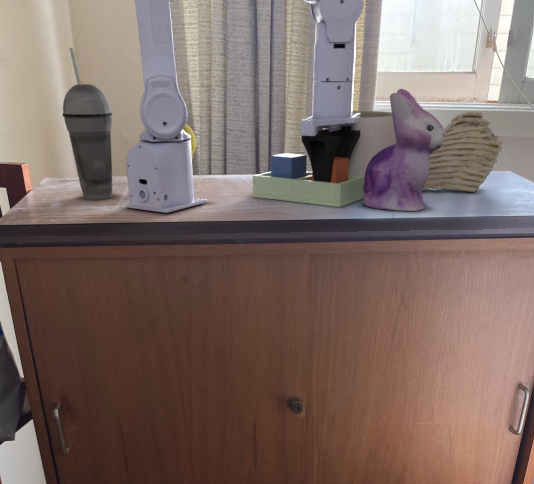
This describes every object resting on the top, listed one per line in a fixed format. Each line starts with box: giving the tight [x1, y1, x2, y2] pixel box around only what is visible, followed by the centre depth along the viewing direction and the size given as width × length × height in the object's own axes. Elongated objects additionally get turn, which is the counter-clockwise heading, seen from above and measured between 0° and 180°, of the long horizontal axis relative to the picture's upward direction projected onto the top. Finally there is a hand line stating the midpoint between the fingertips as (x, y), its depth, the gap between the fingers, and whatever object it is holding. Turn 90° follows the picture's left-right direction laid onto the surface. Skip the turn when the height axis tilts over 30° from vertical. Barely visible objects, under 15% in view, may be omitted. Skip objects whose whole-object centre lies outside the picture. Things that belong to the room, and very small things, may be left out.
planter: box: [332, 110, 396, 177], centre depth 111 cm, size 12×12×11 cm
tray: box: [252, 170, 365, 208], centre depth 106 cm, size 15×8×3 cm, turn 57°
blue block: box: [270, 152, 308, 179], centre depth 106 cm, size 4×4×5 cm
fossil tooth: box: [422, 111, 503, 193], centre depth 109 cm, size 12×6×15 cm
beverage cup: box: [62, 47, 114, 201], centre depth 102 cm, size 7×7×20 cm
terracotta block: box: [311, 157, 349, 183], centre depth 103 cm, size 4×4×5 cm
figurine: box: [362, 88, 446, 212], centre depth 97 cm, size 9×10×15 cm
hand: (329, 184), depth 104 cm, fingers closed on terracotta block, 4 cm apart
